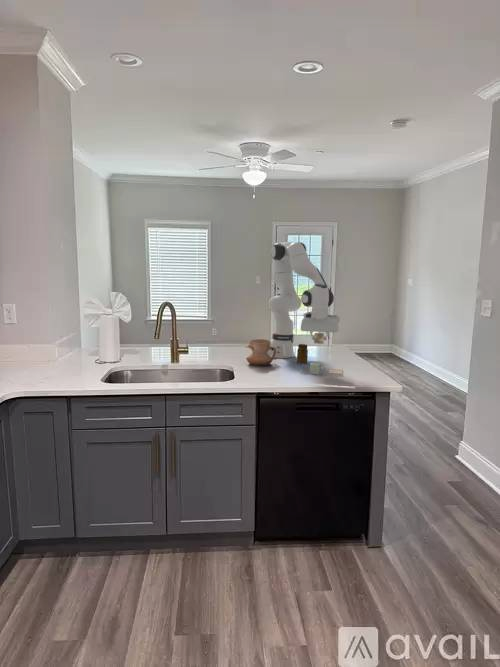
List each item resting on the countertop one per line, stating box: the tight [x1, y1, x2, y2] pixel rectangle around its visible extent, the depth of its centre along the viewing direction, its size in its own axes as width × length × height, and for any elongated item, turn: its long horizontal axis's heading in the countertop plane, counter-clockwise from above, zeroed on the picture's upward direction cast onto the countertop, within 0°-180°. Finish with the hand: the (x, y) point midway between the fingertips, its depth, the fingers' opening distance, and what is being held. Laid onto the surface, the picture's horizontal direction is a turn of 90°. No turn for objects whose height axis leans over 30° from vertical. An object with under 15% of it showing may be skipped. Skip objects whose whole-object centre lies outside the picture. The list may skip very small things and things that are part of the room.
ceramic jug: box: [245, 338, 276, 367], centre depth 250 cm, size 18×14×14 cm
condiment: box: [296, 343, 309, 365], centre depth 252 cm, size 7×8×12 cm
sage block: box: [309, 362, 321, 375], centre depth 230 cm, size 5×5×5 cm
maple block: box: [313, 332, 325, 345], centre depth 234 cm, size 5×5×5 cm
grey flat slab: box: [300, 366, 344, 378], centre depth 234 cm, size 22×15×1 cm
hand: (319, 339), depth 234 cm, fingers closed on maple block, 5 cm apart
